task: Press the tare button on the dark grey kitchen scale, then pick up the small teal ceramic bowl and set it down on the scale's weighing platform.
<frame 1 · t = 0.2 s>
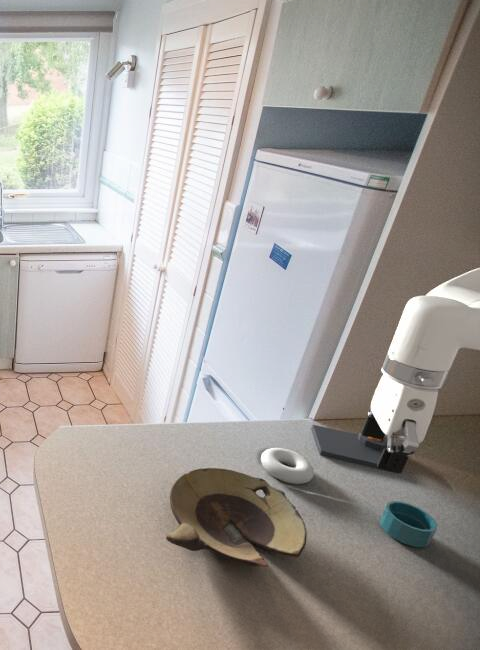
hand: (379, 452, 81), 18 cm above the countertop, tool pointing down, fingers open, 9 cm apart
scale: (350, 449, 109), on the countertop
tare button: (375, 435, 108), point 3 cm above the countertop, slide at 0.1 cm
small bowl: (402, 533, 87), on the countertop
donut: (284, 471, 103), on the countertop
broken ceramic bowl: (216, 529, 89), on the countertop
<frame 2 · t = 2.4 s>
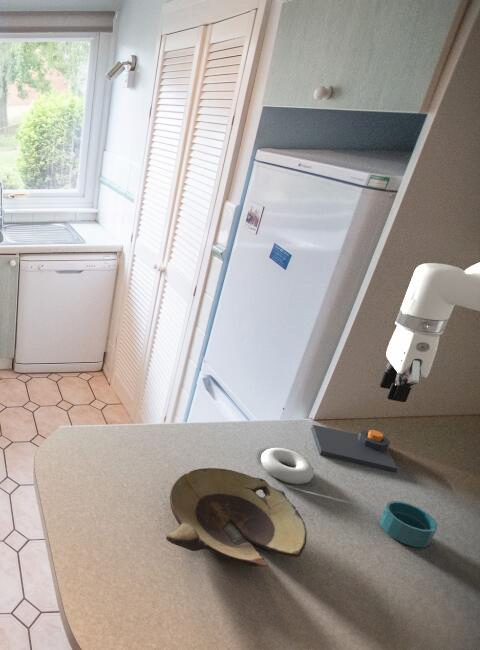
hand: (392, 393, 103), 15 cm above the countertop, tool pointing down, fingers open, 4 cm apart
nothing on the countertop moved.
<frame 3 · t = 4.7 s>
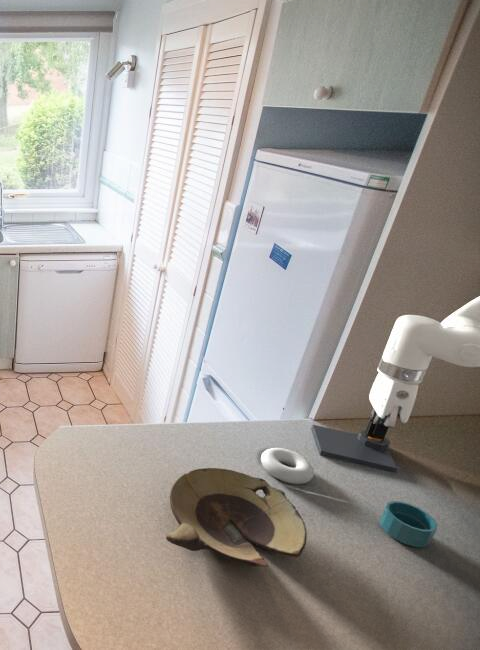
hand: (373, 435, 108), 3 cm above the countertop, tool pointing down, fingers closed
tare button: (374, 438, 108), point 3 cm above the countertop, slide at -0.8 cm, touching gripper
everything else where it was.
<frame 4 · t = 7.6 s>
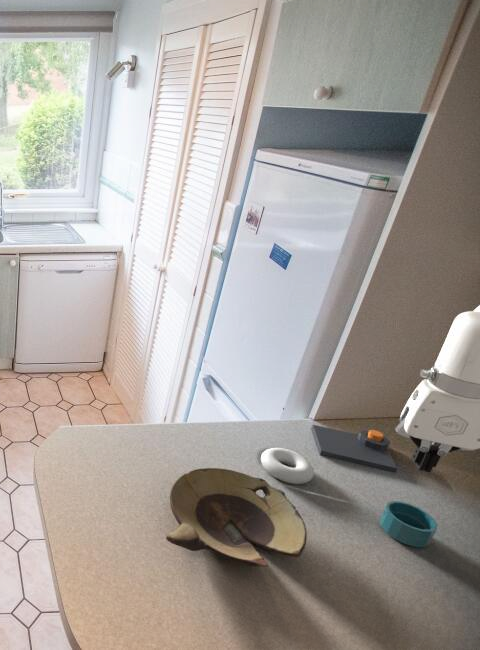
hand: (421, 466, 85), 13 cm above the countertop, tool pointing down, fingers closed
tare button: (375, 435, 108), point 3 cm above the countertop, slide at 0.1 cm
everything else where it was.
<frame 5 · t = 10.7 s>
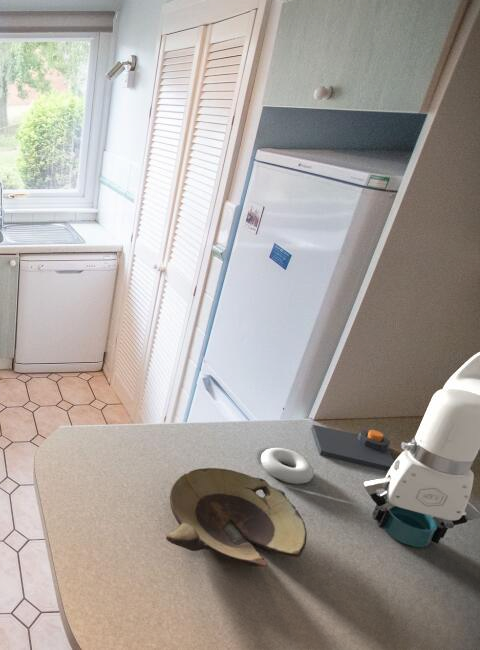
hand: (404, 529, 86), 1 cm above the countertop, tool pointing down, fingers closed on small bowl, 7 cm apart
small bowl: (402, 533, 87), on the countertop, touching gripper
everything else where it was.
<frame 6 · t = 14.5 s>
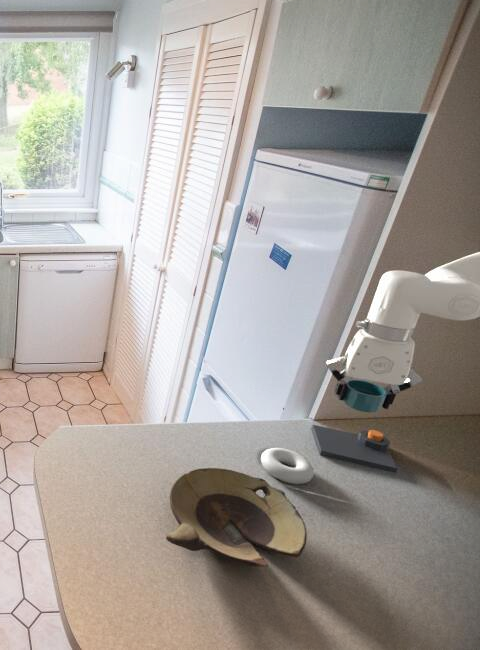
hand: (361, 400, 101), 15 cm above the countertop, tool pointing down, fingers closed on small bowl, 7 cm apart
small bowl: (359, 404, 102), point 14 cm above the countertop, touching gripper
everything else where it was.
when the fingers open (2 cm above the countertop, at t = 18.1 s): small bowl stays where it is, resting on scale.
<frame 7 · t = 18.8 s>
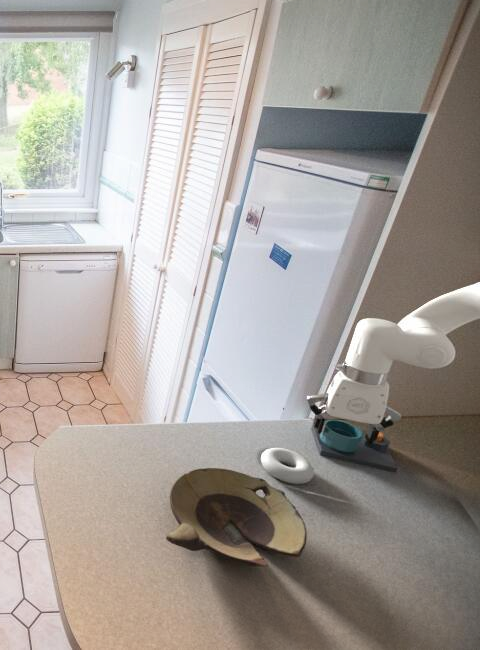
hand: (342, 435, 107), 4 cm above the countertop, tool pointing down, fingers open, 9 cm apart
small bowl: (337, 443, 109), point 1 cm above the countertop, touching scale
everything else where it was.
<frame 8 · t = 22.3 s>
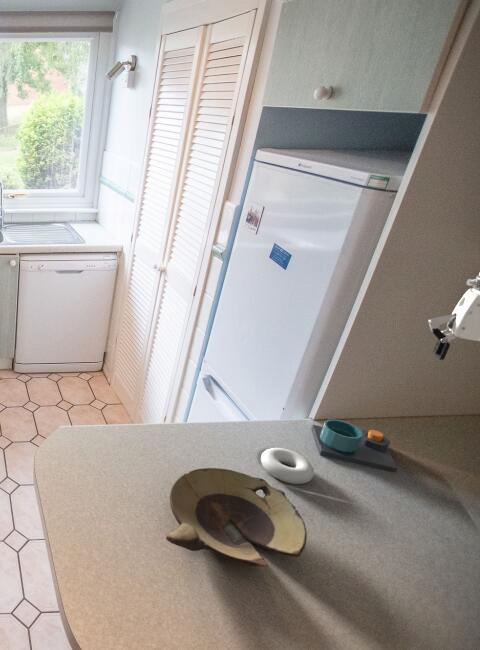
hand: (467, 361, 98), 24 cm above the countertop, tool pointing down, fingers open, 9 cm apart
nothing on the countertop moved.
at the end: tare button pushed in 0.9 cm at the most during the clip, back to where it started at the end; tare button slide at 0.1 cm; small bowl inside the target area on the scale (0.6 cm from its centre), point 1.4 cm above the scale's base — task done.
